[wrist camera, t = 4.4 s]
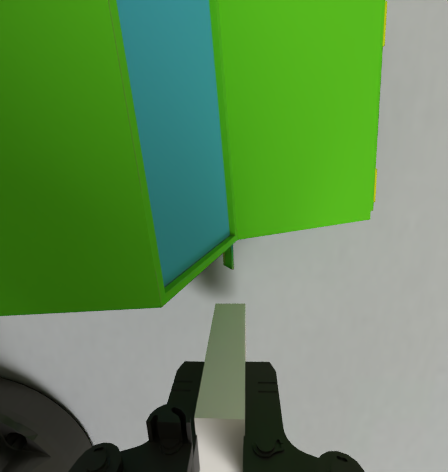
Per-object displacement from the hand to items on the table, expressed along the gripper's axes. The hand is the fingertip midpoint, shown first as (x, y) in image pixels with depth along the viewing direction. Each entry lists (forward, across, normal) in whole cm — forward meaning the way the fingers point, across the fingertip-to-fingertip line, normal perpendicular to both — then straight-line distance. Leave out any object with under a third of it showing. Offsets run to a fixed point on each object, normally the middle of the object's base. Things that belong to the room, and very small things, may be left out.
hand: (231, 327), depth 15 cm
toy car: (+3, -1, +10) cm, 10 cm away
